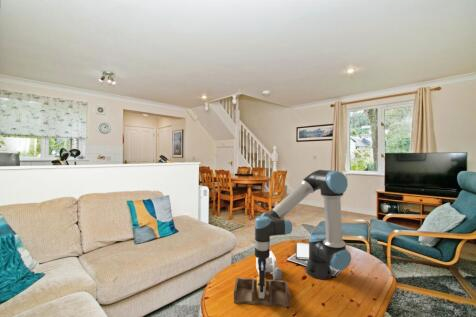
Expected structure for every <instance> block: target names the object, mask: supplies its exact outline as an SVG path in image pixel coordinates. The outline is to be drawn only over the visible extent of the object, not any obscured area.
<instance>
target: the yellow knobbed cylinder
mask: <svg viewBox="0 0 476 317" xmlns="http://www.w3.org/2000/svg"><path fill="white" fill-rule="evenodd" d="M256 279H257V298H258V299H265V298H266V280H267V278H266V277H265V283H264V284H265V286H264V298H259V285H258V283H259V276H257V278H256Z"/></svg>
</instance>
